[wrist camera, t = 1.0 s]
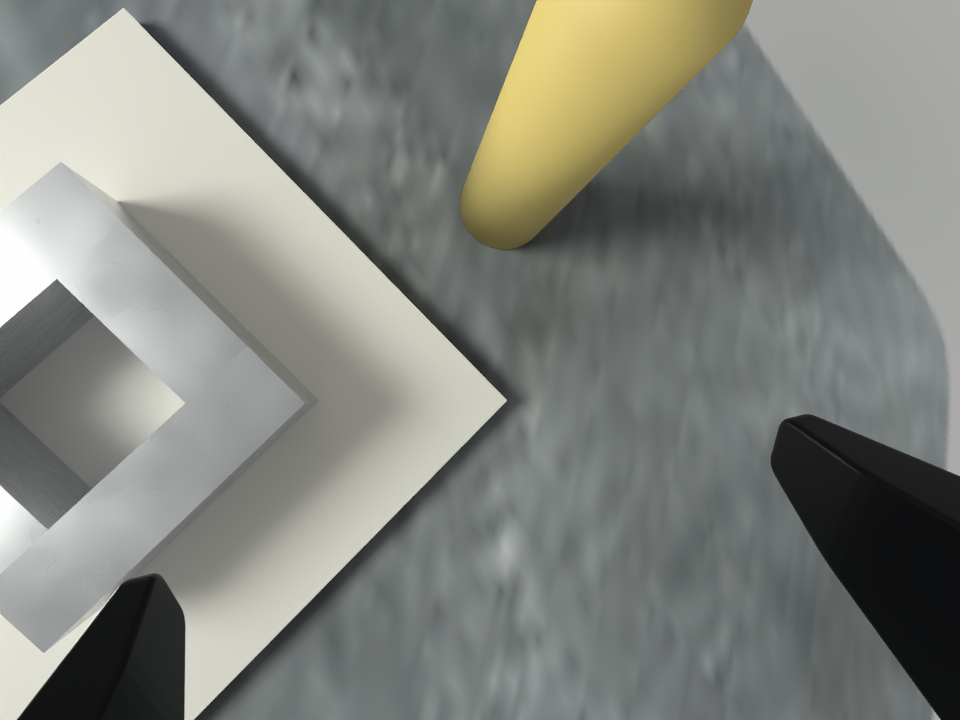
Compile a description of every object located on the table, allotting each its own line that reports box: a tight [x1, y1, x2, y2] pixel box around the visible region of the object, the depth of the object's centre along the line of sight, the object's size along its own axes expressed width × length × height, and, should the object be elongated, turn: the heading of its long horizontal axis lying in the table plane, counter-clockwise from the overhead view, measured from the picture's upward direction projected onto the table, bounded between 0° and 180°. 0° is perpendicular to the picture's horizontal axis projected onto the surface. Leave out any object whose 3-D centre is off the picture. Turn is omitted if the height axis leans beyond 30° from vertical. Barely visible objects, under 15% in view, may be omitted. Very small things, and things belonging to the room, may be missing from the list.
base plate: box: [0, 8, 507, 720], centre depth 20 cm, size 18×18×1 cm
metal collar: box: [0, 162, 319, 653], centre depth 18 cm, size 9×9×4 cm
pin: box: [460, 0, 753, 250], centre depth 16 cm, size 3×3×13 cm
